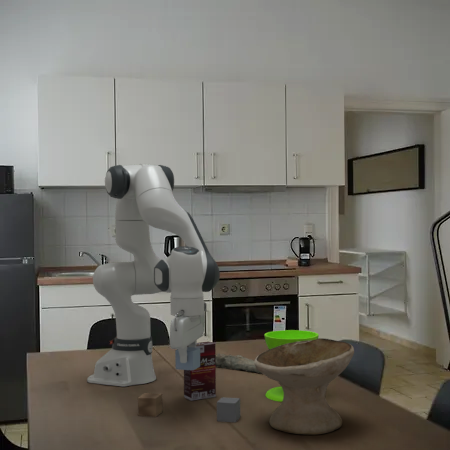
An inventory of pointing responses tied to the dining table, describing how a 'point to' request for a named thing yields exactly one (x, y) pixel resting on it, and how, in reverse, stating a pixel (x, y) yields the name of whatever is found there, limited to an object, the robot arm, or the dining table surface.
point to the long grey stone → (235, 362)
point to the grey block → (228, 409)
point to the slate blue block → (192, 359)
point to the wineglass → (279, 339)
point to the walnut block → (150, 405)
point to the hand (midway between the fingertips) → (187, 359)
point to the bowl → (305, 383)
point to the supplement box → (202, 374)
